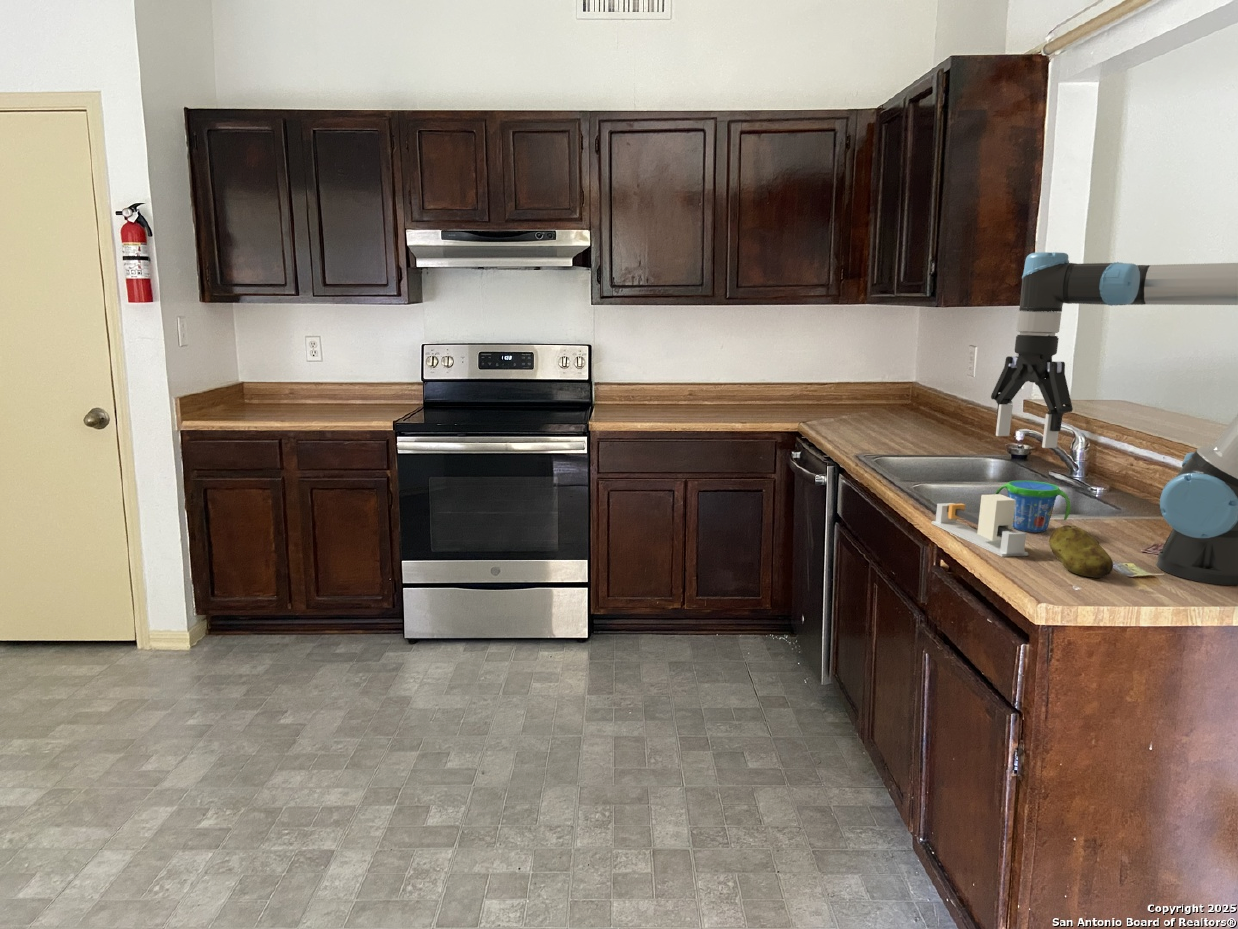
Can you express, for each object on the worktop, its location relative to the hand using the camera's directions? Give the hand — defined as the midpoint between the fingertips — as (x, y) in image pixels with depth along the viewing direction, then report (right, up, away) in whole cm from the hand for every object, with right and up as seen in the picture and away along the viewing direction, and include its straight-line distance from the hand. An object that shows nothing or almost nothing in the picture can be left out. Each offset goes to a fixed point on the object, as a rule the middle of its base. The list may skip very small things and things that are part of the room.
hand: (1024, 441), depth 171 cm
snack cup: (+11, -19, +23) cm, 32 cm away
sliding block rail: (-4, -21, +14) cm, 25 cm away
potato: (+7, -25, -7) cm, 27 cm away
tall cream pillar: (-3, -20, +8) cm, 21 cm away
